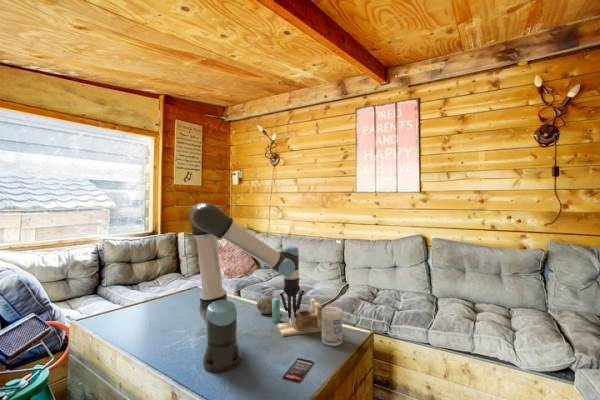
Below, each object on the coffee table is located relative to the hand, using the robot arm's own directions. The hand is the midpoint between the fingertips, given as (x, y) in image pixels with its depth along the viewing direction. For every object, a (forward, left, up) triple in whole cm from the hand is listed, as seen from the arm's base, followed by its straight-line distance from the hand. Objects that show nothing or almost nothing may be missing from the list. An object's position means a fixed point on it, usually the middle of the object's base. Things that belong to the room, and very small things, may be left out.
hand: (292, 323), depth 153 cm
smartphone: (-35, +7, -3) cm, 36 cm away
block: (0, -7, -1) cm, 7 cm away
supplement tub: (-18, -14, -3) cm, 23 cm away
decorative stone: (+24, +9, -3) cm, 26 cm away
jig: (0, -4, -3) cm, 4 cm away
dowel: (+11, +6, -3) cm, 13 cm away
